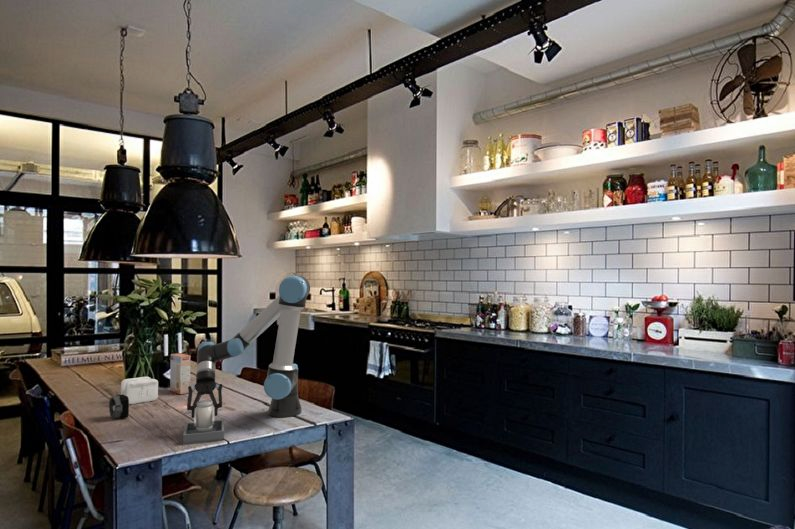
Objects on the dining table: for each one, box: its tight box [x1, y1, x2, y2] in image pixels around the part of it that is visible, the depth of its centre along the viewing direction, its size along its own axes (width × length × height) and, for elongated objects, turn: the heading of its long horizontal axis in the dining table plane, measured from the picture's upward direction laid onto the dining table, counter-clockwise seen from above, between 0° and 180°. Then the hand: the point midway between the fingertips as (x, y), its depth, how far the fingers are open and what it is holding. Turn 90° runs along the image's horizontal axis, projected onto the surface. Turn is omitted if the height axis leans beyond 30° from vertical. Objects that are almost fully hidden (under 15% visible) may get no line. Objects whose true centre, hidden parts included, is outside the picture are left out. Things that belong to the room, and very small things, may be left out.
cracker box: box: [169, 352, 192, 395], centre depth 274 cm, size 14×6×21 cm, turn 46°
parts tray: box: [182, 419, 225, 445], centre depth 197 cm, size 15×17×4 cm
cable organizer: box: [120, 376, 159, 405], centre depth 253 cm, size 15×11×12 cm
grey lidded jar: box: [196, 399, 214, 432], centre depth 197 cm, size 6×6×11 cm
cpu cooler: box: [108, 394, 130, 420], centre depth 223 cm, size 10×6×10 cm, turn 46°
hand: (204, 423), depth 194 cm, fingers closed on grey lidded jar, 6 cm apart
